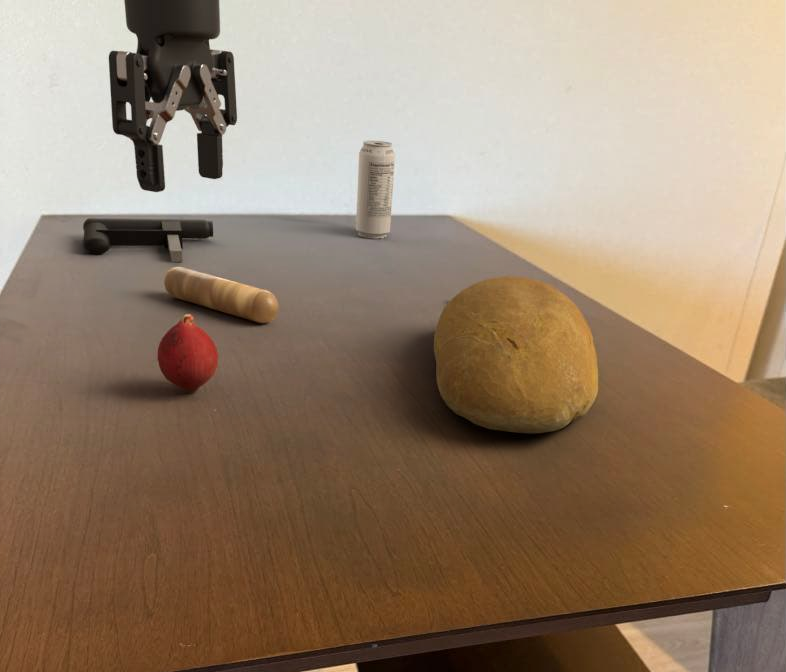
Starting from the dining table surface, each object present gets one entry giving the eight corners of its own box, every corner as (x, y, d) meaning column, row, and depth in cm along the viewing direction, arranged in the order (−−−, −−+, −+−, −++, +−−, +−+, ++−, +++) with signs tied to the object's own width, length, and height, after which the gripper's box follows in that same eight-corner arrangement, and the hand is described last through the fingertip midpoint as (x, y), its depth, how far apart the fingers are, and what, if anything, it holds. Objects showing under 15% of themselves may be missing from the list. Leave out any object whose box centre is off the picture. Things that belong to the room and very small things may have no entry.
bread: (432, 443, 80) (443, 341, 75) (430, 325, 110) (438, 246, 105) (625, 458, 81) (649, 357, 75) (571, 336, 110) (586, 258, 105)
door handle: (221, 245, 127) (210, 214, 139) (80, 245, 122) (82, 213, 134) (222, 267, 129) (211, 235, 141) (83, 268, 124) (84, 234, 136)
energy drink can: (381, 230, 154) (386, 140, 146) (394, 239, 149) (401, 145, 141) (350, 231, 151) (354, 139, 143) (363, 240, 147) (367, 145, 139)
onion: (183, 408, 83) (177, 328, 79) (149, 390, 86) (142, 312, 82) (230, 394, 87) (228, 317, 83) (196, 377, 90) (192, 302, 86)
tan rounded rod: (158, 297, 112) (156, 267, 110) (180, 291, 115) (178, 261, 113) (264, 329, 104) (264, 297, 102) (285, 322, 107) (285, 290, 105)
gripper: (185, -30, 75) (195, 169, 83) (69, -43, 63) (94, 188, 72) (258, -24, 72) (261, 180, 81) (151, -37, 61) (167, 202, 70)
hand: (182, 183), depth 76 cm, fingers open, 8 cm apart
